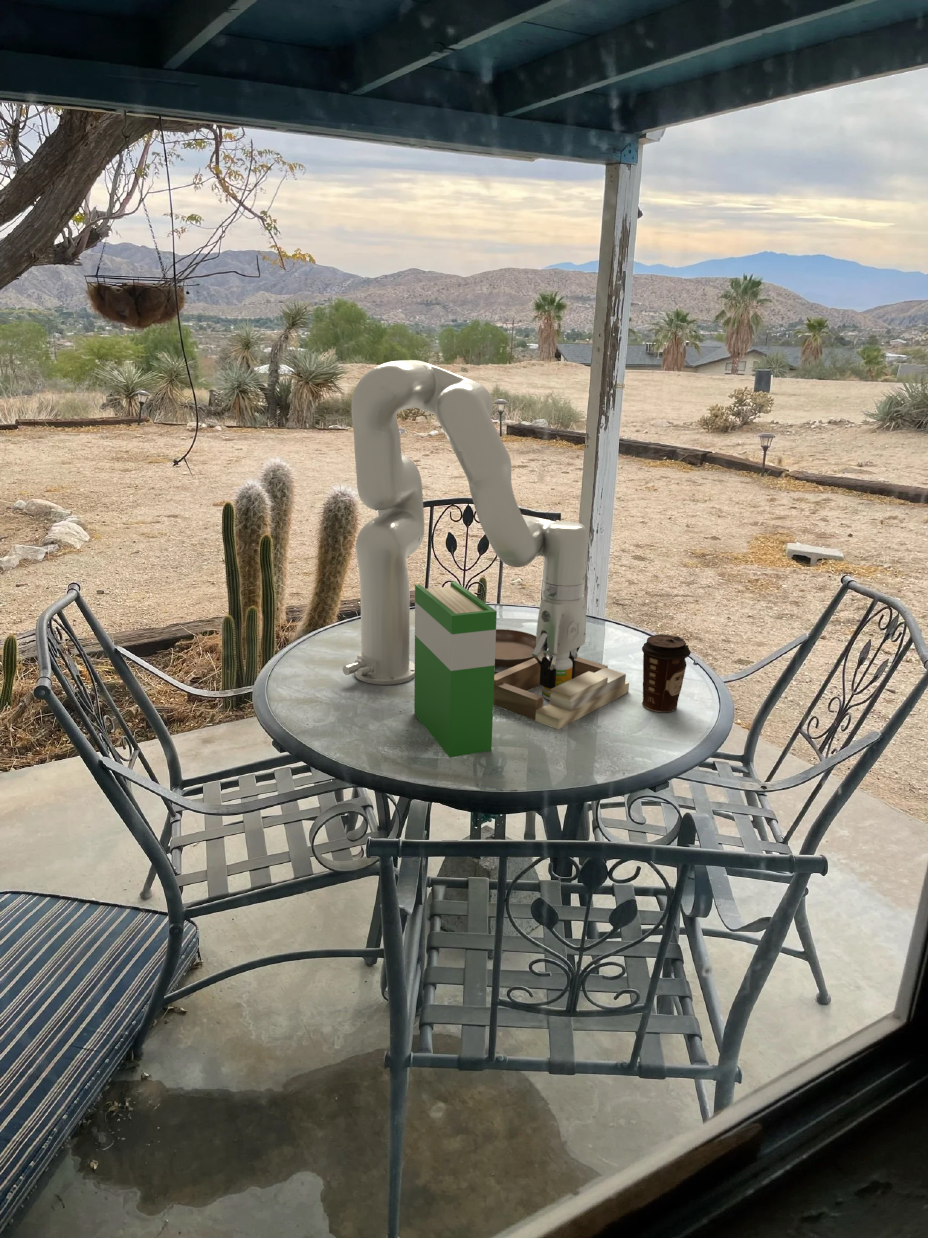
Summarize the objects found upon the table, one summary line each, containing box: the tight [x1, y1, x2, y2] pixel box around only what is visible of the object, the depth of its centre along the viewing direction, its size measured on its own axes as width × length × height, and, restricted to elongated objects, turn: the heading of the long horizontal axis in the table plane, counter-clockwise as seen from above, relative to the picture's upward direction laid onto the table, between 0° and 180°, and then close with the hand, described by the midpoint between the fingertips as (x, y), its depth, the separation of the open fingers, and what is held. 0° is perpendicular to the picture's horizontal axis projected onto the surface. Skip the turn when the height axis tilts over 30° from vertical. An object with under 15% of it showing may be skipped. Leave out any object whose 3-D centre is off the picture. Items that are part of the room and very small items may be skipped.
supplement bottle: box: [541, 648, 573, 701], centre depth 159 cm, size 5×5×10 cm
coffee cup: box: [641, 633, 692, 713], centre depth 156 cm, size 9×8×13 cm
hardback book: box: [413, 581, 498, 758], centre depth 142 cm, size 18×7×24 cm, turn 22°
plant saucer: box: [495, 628, 536, 668], centre depth 181 cm, size 18×18×3 cm
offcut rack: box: [493, 654, 630, 730], centre depth 160 cm, size 23×16×5 cm
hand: (557, 681), depth 160 cm, fingers closed on supplement bottle, 5 cm apart
